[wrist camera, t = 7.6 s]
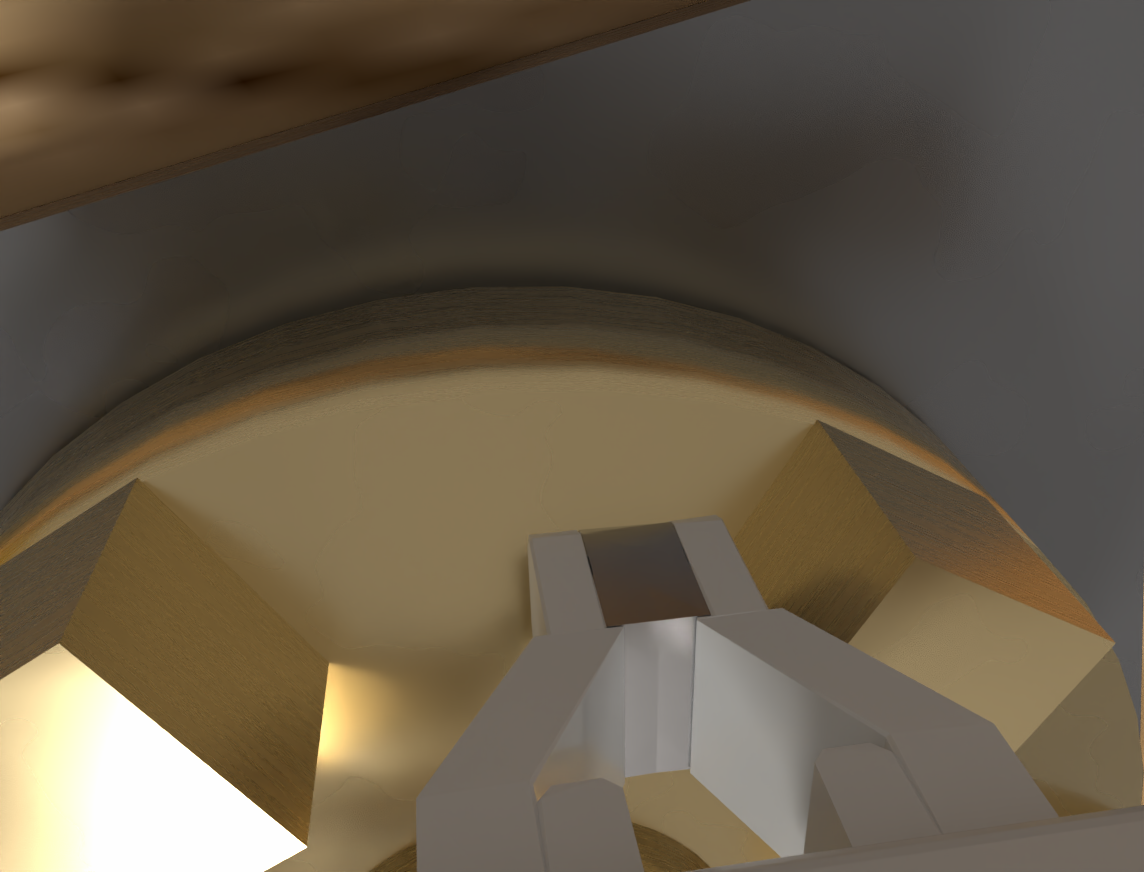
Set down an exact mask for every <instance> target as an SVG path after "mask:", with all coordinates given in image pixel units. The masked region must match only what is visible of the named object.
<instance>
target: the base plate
mask: <svg viewBox="0 0 1144 872" xmlns="http://www.w3.org/2000/svg"><path fill="white" fill-rule="evenodd" d="M545 286H567V287H576V288H584V289H593V290H601V291H610V292H618V293H627V294H635V295H644V296H652V297H658V298H662V299H666V300H670V301H674V302H678V303H682V304H686V305H690V306H694V307H698V308H702V309H706V310H709V311H713V312H717V313H721V314H725V315H729V316H733V317H737V318H740V319H743V320H745V321H748V322H750V323H753V324H755V325H758V326H760V327H763V328H765V329H768V330H770V331H773V332H775V333H777V334H780V335H782V336H785V337H787V338H790V339H792V340H795V341H797V342H800V343H802V344H805V345H807V346H810V347H812V348H814V349H816V350H818V351H819V352H821V353H823V354H825V355H826V356H828V357H830V358H831V359H833V360H835V361H836V362H838V363H840V364H842V365H843V366H845V367H847V368H848V369H850V370H852V371H853V372H855V373H857V374H859V375H860V376H862V377H864V378H865V379H867V380H869V381H870V382H872V383H874V384H876V385H877V386H879V387H880V388H881V389H882V390H884V391H885V392H886V393H887V394H889V395H890V396H891V397H892V398H893V399H895V400H896V401H897V402H898V403H899V404H901V405H902V406H903V407H904V408H906V409H907V410H908V411H909V412H910V413H912V414H913V415H914V416H915V417H916V418H918V419H919V420H920V421H921V422H923V423H924V424H925V425H926V426H927V427H929V428H930V429H931V430H932V431H933V432H934V433H935V434H936V435H937V436H938V438H939V439H940V440H941V441H942V442H943V443H944V444H945V445H946V446H947V447H948V449H949V450H950V451H951V452H952V453H953V454H954V455H955V456H956V457H957V459H958V460H959V461H960V462H961V463H962V464H963V465H964V466H965V467H966V469H967V470H968V471H969V472H970V473H971V474H972V475H973V476H974V477H975V478H976V480H977V481H978V482H979V483H980V484H981V485H982V486H983V487H984V488H985V490H986V491H987V492H988V493H989V494H990V495H991V496H992V497H993V498H994V499H995V501H996V502H997V503H998V504H999V505H1000V506H1001V507H1002V508H1003V509H1004V511H1005V512H1006V513H1007V514H1008V515H1009V516H1010V517H1011V518H1012V519H1013V521H1014V522H1015V523H1016V524H1017V525H1018V526H1019V527H1020V528H1021V529H1022V530H1023V532H1024V533H1025V534H1026V535H1027V536H1028V537H1029V538H1030V539H1031V540H1032V542H1033V543H1034V544H1035V545H1036V546H1037V547H1038V548H1039V549H1040V550H1041V552H1042V553H1043V554H1044V555H1045V556H1046V557H1047V558H1048V560H1049V561H1050V562H1051V563H1052V564H1053V565H1054V567H1055V568H1056V569H1057V570H1058V571H1059V572H1060V573H1061V575H1062V576H1063V577H1064V578H1065V579H1066V580H1067V582H1068V583H1069V584H1070V585H1071V586H1072V587H1073V589H1074V590H1075V591H1076V592H1077V593H1078V594H1079V595H1080V597H1081V598H1082V599H1083V600H1084V601H1085V602H1086V604H1087V605H1088V607H1089V608H1090V610H1091V612H1092V614H1093V615H1094V617H1095V619H1096V621H1097V622H1098V624H1099V625H1100V626H1101V627H1102V628H1103V629H1104V630H1105V631H1106V633H1107V634H1108V635H1109V636H1110V637H1111V638H1112V639H1113V640H1114V641H1115V643H1116V644H1115V645H1114V646H1113V647H1112V649H1113V651H1114V652H1115V654H1116V656H1117V658H1118V659H1119V662H1120V665H1121V668H1122V671H1123V674H1124V677H1125V680H1126V683H1127V686H1128V690H1129V693H1130V696H1131V699H1132V702H1133V705H1134V708H1135V711H1136V714H1137V718H1138V727H1139V736H1140V720H1141V674H1142V629H1143V583H1144V0H708V1H705V2H702V3H699V4H695V5H692V6H689V7H686V8H682V9H679V10H676V11H673V12H669V13H666V14H663V15H660V16H656V17H653V18H650V19H647V20H643V21H640V22H637V23H634V24H630V25H627V26H624V27H621V28H617V29H614V30H611V31H608V32H604V33H601V34H598V35H595V36H591V37H588V38H585V39H582V40H579V41H575V42H572V43H569V44H566V45H562V46H559V47H556V48H553V49H549V50H546V51H543V52H540V53H536V54H533V55H530V56H527V57H523V58H520V59H517V60H514V61H510V62H507V63H504V64H501V65H497V66H494V67H491V68H488V69H484V70H481V71H478V72H475V73H471V74H468V75H465V76H462V77H458V78H455V79H452V80H449V81H445V82H442V83H439V84H436V85H432V86H429V87H426V88H423V89H419V90H416V91H413V92H410V93H406V94H403V95H400V96H397V97H393V98H390V99H387V100H384V101H380V102H377V103H374V104H371V105H367V106H364V107H361V108H358V109H354V110H351V111H348V112H345V113H341V114H338V115H335V116H332V117H328V118H325V119H322V120H319V121H315V122H312V123H309V124H306V125H302V126H299V127H296V128H293V129H289V130H286V131H283V132H280V133H277V134H273V135H270V136H267V137H264V138H260V139H257V140H254V141H251V142H247V143H244V144H241V145H238V146H234V147H231V148H228V149H225V150H221V151H218V152H215V153H212V154H208V155H205V156H202V157H199V158H195V159H192V160H189V161H186V162H182V163H179V164H176V165H173V166H169V167H166V168H163V169H160V170H156V171H153V172H150V173H147V174H143V175H140V176H137V177H134V178H130V179H127V180H124V181H121V182H117V183H114V184H111V185H108V186H104V187H101V188H98V189H95V190H91V191H88V192H85V193H82V194H78V195H75V196H72V197H69V198H65V199H62V200H59V201H56V202H52V203H49V204H46V205H43V206H39V207H36V208H33V209H30V210H26V211H23V212H20V213H17V214H13V215H10V216H7V217H4V218H0V511H1V510H2V509H3V508H4V507H5V506H6V505H7V504H8V503H9V502H10V501H11V499H12V498H13V497H14V496H15V495H16V494H17V493H18V492H19V491H20V490H21V489H22V488H23V487H24V486H25V485H26V484H27V483H28V482H29V481H30V479H31V478H32V477H33V476H34V475H35V474H36V473H37V472H38V471H39V470H40V469H41V468H42V467H43V466H44V465H45V464H46V463H47V462H48V461H49V459H50V458H51V457H52V456H53V455H54V454H55V453H57V452H58V451H59V450H61V449H62V448H63V447H64V446H66V445H67V444H68V443H70V442H71V441H72V440H74V439H75V438H76V437H77V436H79V435H80V434H81V433H83V432H84V431H85V430H86V429H88V428H89V427H90V426H92V425H93V424H94V423H95V422H97V421H98V420H99V419H101V418H102V417H103V416H105V415H106V414H107V413H108V412H110V411H111V410H112V409H114V408H115V407H116V406H117V405H119V404H120V403H121V402H123V401H125V400H127V399H128V398H130V397H132V396H134V395H136V394H137V393H139V392H141V391H143V390H144V389H146V388H148V387H150V386H151V385H153V384H155V383H157V382H158V381H160V380H162V379H164V378H165V377H167V376H169V375H171V374H172V373H174V372H176V371H178V370H180V369H181V368H183V367H185V366H187V365H188V364H190V363H192V362H194V361H195V360H197V359H199V358H201V357H204V356H206V355H209V354H211V353H214V352H216V351H219V350H221V349H224V348H226V347H229V346H231V345H234V344H236V343H239V342H241V341H244V340H246V339H249V338H251V337H254V336H256V335H258V334H261V333H263V332H266V331H268V330H271V329H273V328H276V327H278V326H281V325H283V324H286V323H290V322H294V321H298V320H301V319H305V318H309V317H313V316H317V315H321V314H324V313H328V312H332V311H336V310H340V309H343V308H347V307H351V306H355V305H359V304H363V303H366V302H370V301H374V300H379V299H386V298H394V297H401V296H409V295H416V294H424V293H431V292H439V291H446V290H454V289H461V288H469V287H545Z"/></svg>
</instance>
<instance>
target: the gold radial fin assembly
mask: <svg viewBox="0 0 1144 872" xmlns="http://www.w3.org/2000/svg"><path fill="white" fill-rule="evenodd" d="M710 515H717V516H718V517H720V518H722V519H723V521H724V523H725V525H726V527H727V529H728V531H729V533H730V535H731V537H732V539H733V541H734V543H735V545H736V547H737V549H738V551H739V553H740V555H741V556H742V558H743V560H744V562H745V564H746V566H747V568H748V570H749V572H750V574H751V576H752V578H753V580H754V582H755V584H756V586H757V588H758V590H759V592H760V594H761V595H762V597H763V599H764V601H765V603H766V605H767V607H768V609H778V608H783V609H785V610H787V611H789V612H791V613H793V614H794V615H796V616H798V617H800V618H802V619H804V620H805V621H807V622H809V623H811V624H813V625H815V626H816V627H818V628H820V629H822V630H824V631H826V632H827V633H829V634H831V635H833V636H835V637H837V638H838V639H840V640H842V641H844V642H846V643H848V644H849V645H851V646H853V647H855V648H857V649H859V650H860V651H862V652H864V653H866V654H868V655H869V656H871V657H873V658H875V659H877V660H879V661H880V662H882V663H884V664H886V665H888V666H890V667H891V668H893V669H895V670H897V671H899V672H901V673H902V674H904V675H906V676H908V677H910V678H912V679H913V680H915V681H917V682H919V683H921V684H923V685H924V686H926V687H928V688H930V689H932V690H933V691H935V692H937V693H939V694H941V695H943V696H944V697H946V698H948V699H950V700H952V701H954V702H955V703H957V704H959V705H961V706H963V707H965V708H966V709H968V710H970V711H972V712H974V713H976V714H977V715H979V716H981V717H983V718H985V719H987V720H988V721H990V722H992V723H994V724H995V726H996V727H997V729H998V730H999V731H1000V733H1001V734H1002V736H1003V737H1004V739H1005V740H1006V741H1007V743H1008V744H1009V746H1010V747H1011V749H1012V750H1013V751H1014V753H1015V754H1016V756H1017V757H1018V759H1019V760H1020V762H1021V763H1022V764H1023V766H1024V767H1025V769H1026V770H1027V772H1028V773H1029V774H1030V776H1031V777H1032V779H1033V780H1034V782H1035V783H1036V784H1037V786H1038V787H1039V789H1040V790H1041V792H1042V793H1043V794H1044V796H1045V797H1046V799H1047V800H1048V802H1049V803H1050V804H1051V806H1052V807H1053V809H1054V810H1055V812H1056V813H1057V814H1058V816H1059V817H1064V816H1071V815H1078V814H1085V813H1092V812H1099V811H1106V810H1113V809H1120V808H1127V807H1134V806H1141V799H1142V787H1143V775H1144V772H1143V763H1142V754H1141V745H1140V736H1139V727H1138V718H1137V714H1136V711H1135V708H1134V705H1133V702H1132V699H1131V696H1130V693H1129V690H1128V686H1127V683H1126V680H1125V677H1124V674H1123V671H1122V668H1121V665H1120V662H1119V659H1118V658H1117V656H1116V654H1115V652H1114V651H1113V649H1112V647H1113V646H1114V645H1115V644H1116V643H1115V641H1114V640H1113V639H1112V638H1111V637H1110V636H1109V635H1108V634H1107V633H1106V631H1105V630H1104V629H1103V628H1102V627H1101V626H1100V625H1099V624H1098V622H1097V621H1096V619H1095V617H1094V615H1093V614H1092V612H1091V610H1090V608H1089V607H1088V605H1087V604H1086V602H1085V601H1084V600H1083V599H1082V598H1081V597H1080V595H1079V594H1078V593H1077V592H1076V591H1075V590H1074V589H1073V587H1072V586H1071V585H1070V584H1069V583H1068V582H1067V580H1066V579H1065V578H1064V577H1063V576H1062V575H1061V573H1060V572H1059V571H1058V570H1057V569H1056V568H1055V567H1054V565H1053V564H1052V563H1051V562H1050V561H1049V560H1048V558H1047V557H1046V556H1045V555H1044V554H1043V553H1042V552H1041V550H1040V549H1039V548H1038V547H1037V546H1036V545H1035V544H1034V543H1033V542H1032V540H1031V539H1030V538H1029V537H1028V536H1027V535H1026V534H1025V533H1024V532H1023V530H1022V529H1021V528H1020V527H1019V526H1018V525H1017V524H1016V523H1015V522H1014V521H1013V519H1012V518H1011V517H1010V516H1009V515H1008V514H1007V513H1006V512H1005V511H1004V509H1003V508H1002V507H1001V506H1000V505H999V504H998V503H997V502H996V501H995V499H994V498H993V497H992V496H991V495H990V494H989V493H988V492H987V491H986V490H985V488H984V487H983V486H982V485H981V484H980V483H979V482H978V481H977V480H976V478H975V477H974V476H973V475H972V474H971V473H970V472H969V471H968V470H967V469H966V467H965V466H964V465H963V464H962V463H961V462H960V461H959V460H958V459H957V457H956V456H955V455H954V454H953V453H952V452H951V451H950V450H949V449H948V447H947V446H946V445H945V444H944V443H943V442H942V441H941V440H940V439H939V438H938V436H937V435H936V434H935V433H934V432H933V431H932V430H931V429H930V428H929V427H927V426H926V425H925V424H924V423H923V422H921V421H920V420H919V419H918V418H916V417H915V416H914V415H913V414H912V413H910V412H909V411H908V410H907V409H906V408H904V407H903V406H902V405H901V404H899V403H898V402H897V401H896V400H895V399H893V398H892V397H891V396H890V395H889V394H887V393H886V392H885V391H884V390H882V389H881V388H880V387H879V386H877V385H876V384H874V383H872V382H870V381H869V380H867V379H865V378H864V377H862V376H860V375H859V374H857V373H855V372H853V371H852V370H850V369H848V368H847V367H845V366H843V365H842V364H840V363H838V362H836V361H835V360H833V359H831V358H830V357H828V356H826V355H825V354H823V353H821V352H819V351H818V350H816V349H814V348H812V347H810V346H807V345H805V344H802V343H800V342H797V341H795V340H792V339H790V338H787V337H785V336H782V335H780V334H777V333H775V332H773V331H770V330H768V329H765V328H763V327H760V326H758V325H755V324H753V323H750V322H748V321H745V320H743V319H740V318H737V317H733V316H729V315H725V314H721V313H717V312H713V311H709V310H706V309H702V308H698V307H694V306H690V305H686V304H682V303H678V302H674V301H670V300H666V299H662V298H658V297H652V296H644V295H635V294H627V293H618V292H610V291H601V290H593V289H584V288H576V287H567V286H545V287H469V288H461V289H454V290H446V291H439V292H431V293H424V294H416V295H409V296H401V297H394V298H386V299H379V300H374V301H370V302H366V303H363V304H359V305H355V306H351V307H347V308H343V309H340V310H336V311H332V312H328V313H324V314H321V315H317V316H313V317H309V318H305V319H301V320H298V321H294V322H290V323H286V324H283V325H281V326H278V327H276V328H273V329H271V330H268V331H266V332H263V333H261V334H258V335H256V336H254V337H251V338H249V339H246V340H244V341H241V342H239V343H236V344H234V345H231V346H229V347H226V348H224V349H221V350H219V351H216V352H214V353H211V354H209V355H206V356H204V357H201V358H199V359H197V360H195V361H194V362H192V363H190V364H188V365H187V366H185V367H183V368H181V369H180V370H178V371H176V372H174V373H172V374H171V375H169V376H167V377H165V378H164V379H162V380H160V381H158V382H157V383H155V384H153V385H151V386H150V387H148V388H146V389H144V390H143V391H141V392H139V393H137V394H136V395H134V396H132V397H130V398H128V399H127V400H125V401H123V402H121V403H120V404H119V405H117V406H116V407H115V408H114V409H112V410H111V411H110V412H108V413H107V414H106V415H105V416H103V417H102V418H101V419H99V420H98V421H97V422H95V423H94V424H93V425H92V426H90V427H89V428H88V429H86V430H85V431H84V432H83V433H81V434H80V435H79V436H77V437H76V438H75V439H74V440H72V441H71V442H70V443H68V444H67V445H66V446H64V447H63V448H62V449H61V450H59V451H58V452H57V453H55V454H54V455H53V456H52V457H51V458H50V459H49V461H48V462H47V463H46V464H45V465H44V466H43V467H42V468H41V469H40V470H39V471H38V472H37V473H36V474H35V475H34V476H33V477H32V478H31V479H30V481H29V482H28V483H27V484H26V485H25V486H24V487H23V488H22V489H21V490H20V491H19V492H18V493H17V494H16V495H15V496H14V497H13V498H12V499H11V501H10V502H9V503H8V504H7V505H6V506H5V507H4V508H3V509H2V510H1V511H0V872H417V841H416V798H417V796H418V795H419V794H420V792H421V791H422V790H423V788H424V787H425V785H426V784H427V783H428V781H429V780H430V779H431V777H432V776H433V774H434V773H435V772H436V770H437V769H438V767H439V766H440V765H441V763H442V762H443V761H444V759H445V758H446V756H447V755H448V754H449V752H450V751H451V750H452V748H453V747H454V745H455V744H456V743H457V741H458V740H459V738H460V737H461V736H462V734H463V733H464V732H465V730H466V729H467V727H468V726H469V725H470V723H471V722H472V721H473V719H474V718H475V716H476V715H477V714H478V712H479V711H480V709H481V708H482V707H483V705H484V704H485V703H486V701H487V700H488V698H489V697H490V696H491V694H492V693H493V692H494V690H495V689H496V687H497V686H498V685H499V683H500V682H501V680H502V679H503V678H504V676H505V675H506V674H507V672H508V671H509V669H510V668H511V667H512V665H513V664H514V663H515V661H516V660H517V658H518V657H519V656H520V654H521V653H522V651H523V650H524V649H525V647H526V646H527V645H528V643H529V642H530V640H531V639H532V638H533V636H532V622H531V604H530V585H529V566H528V536H529V535H533V534H542V533H552V532H561V531H570V530H577V531H579V530H583V529H595V528H607V527H619V526H631V525H643V524H655V523H665V522H669V521H674V520H681V519H688V518H695V517H703V516H710ZM623 791H624V795H625V799H626V803H627V806H628V810H629V814H630V818H631V822H632V826H633V830H634V834H635V837H636V841H637V845H638V849H639V853H640V857H641V861H642V865H643V869H644V872H685V871H692V870H699V869H705V868H712V867H719V866H726V865H733V864H740V863H746V862H753V861H760V860H767V859H774V858H781V857H780V856H779V855H778V854H777V853H776V852H775V851H774V850H773V849H772V848H771V847H770V846H769V845H767V844H766V843H765V842H764V841H763V840H762V839H761V838H760V837H759V836H758V835H757V834H756V833H754V832H753V831H752V830H751V829H750V828H749V827H748V826H747V825H746V824H745V823H744V822H743V821H741V820H740V819H739V818H738V817H737V816H736V815H735V814H734V813H733V812H732V811H731V810H730V809H728V808H727V807H726V806H725V805H724V804H723V803H722V802H721V801H720V800H719V799H718V798H717V797H715V796H714V795H713V794H712V793H711V792H710V791H709V790H708V789H707V788H706V787H705V786H704V785H703V784H701V783H700V782H699V781H698V780H697V779H696V778H695V777H694V776H693V775H692V774H691V773H690V769H686V770H677V771H667V772H658V773H651V774H645V775H638V776H632V777H626V778H625V784H624V786H623Z"/></svg>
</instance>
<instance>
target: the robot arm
mask: <svg viewBox="0 0 1144 872" xmlns="http://www.w3.org/2000/svg"><path fill="white" fill-rule="evenodd" d="M528 566H529V585H530V604H531V622H532V636H533V638H532V639H531V640H530V642H529V643H528V645H527V646H526V647H525V649H524V650H523V651H522V653H521V654H520V656H519V657H518V658H517V660H516V661H515V663H514V664H513V665H512V667H511V668H510V669H509V671H508V672H507V674H506V675H505V676H504V678H503V679H502V680H501V682H500V683H499V685H498V686H497V687H496V689H495V690H494V692H493V693H492V694H491V696H490V697H489V698H488V700H487V701H486V703H485V704H484V705H483V707H482V708H481V709H480V711H479V712H478V714H477V715H476V716H475V718H474V719H473V721H472V722H471V723H470V725H469V726H468V727H467V729H466V730H465V732H464V733H463V734H462V736H461V737H460V738H459V740H458V741H457V743H456V744H455V745H454V747H453V748H452V750H451V751H450V752H449V754H448V755H447V756H446V758H445V759H444V761H443V762H442V763H441V765H440V766H439V767H438V769H437V770H436V772H435V773H434V774H433V776H432V777H431V779H430V780H429V781H428V783H427V784H426V785H425V787H424V788H423V790H422V791H421V792H420V794H419V795H418V796H417V798H416V841H417V872H644V869H643V865H642V861H641V857H640V853H639V849H638V845H637V841H636V837H635V834H634V830H633V826H632V822H631V818H630V814H629V810H628V806H627V803H626V799H625V795H624V791H623V786H624V784H625V778H626V777H632V776H638V775H645V774H651V773H658V772H667V771H677V770H686V769H690V773H691V774H692V775H693V776H694V777H695V778H696V779H697V780H698V781H699V782H700V783H701V784H703V785H704V786H705V787H706V788H707V789H708V790H709V791H710V792H711V793H712V794H713V795H714V796H715V797H717V798H718V799H719V800H720V801H721V802H722V803H723V804H724V805H725V806H726V807H727V808H728V809H730V810H731V811H732V812H733V813H734V814H735V815H736V816H737V817H738V818H739V819H740V820H741V821H743V822H744V823H745V824H746V825H747V826H748V827H749V828H750V829H751V830H752V831H753V832H754V833H756V834H757V835H758V836H759V837H760V838H761V839H762V840H763V841H764V842H765V843H766V844H767V845H769V846H770V847H771V848H772V849H773V850H774V851H775V852H776V853H777V854H778V855H779V856H780V857H781V858H774V859H767V860H760V861H753V862H746V863H740V864H733V865H726V866H719V867H712V868H705V869H699V870H692V871H685V872H1144V805H1141V806H1134V807H1127V808H1120V809H1113V810H1106V811H1099V812H1092V813H1085V814H1078V815H1071V816H1064V817H1059V816H1058V814H1057V813H1056V812H1055V810H1054V809H1053V807H1052V806H1051V804H1050V803H1049V802H1048V800H1047V799H1046V797H1045V796H1044V794H1043V793H1042V792H1041V790H1040V789H1039V787H1038V786H1037V784H1036V783H1035V782H1034V780H1033V779H1032V777H1031V776H1030V774H1029V773H1028V772H1027V770H1026V769H1025V767H1024V766H1023V764H1022V763H1021V762H1020V760H1019V759H1018V757H1017V756H1016V754H1015V753H1014V751H1013V750H1012V749H1011V747H1010V746H1009V744H1008V743H1007V741H1006V740H1005V739H1004V737H1003V736H1002V734H1001V733H1000V731H999V730H998V729H997V727H996V726H995V724H994V723H992V722H990V721H988V720H987V719H985V718H983V717H981V716H979V715H977V714H976V713H974V712H972V711H970V710H968V709H966V708H965V707H963V706H961V705H959V704H957V703H955V702H954V701H952V700H950V699H948V698H946V697H944V696H943V695H941V694H939V693H937V692H935V691H933V690H932V689H930V688H928V687H926V686H924V685H923V684H921V683H919V682H917V681H915V680H913V679H912V678H910V677H908V676H906V675H904V674H902V673H901V672H899V671H897V670H895V669H893V668H891V667H890V666H888V665H886V664H884V663H882V662H880V661H879V660H877V659H875V658H873V657H871V656H869V655H868V654H866V653H864V652H862V651H860V650H859V649H857V648H855V647H853V646H851V645H849V644H848V643H846V642H844V641H842V640H840V639H838V638H837V637H835V636H833V635H831V634H829V633H827V632H826V631H824V630H822V629H820V628H818V627H816V626H815V625H813V624H811V623H809V622H807V621H805V620H804V619H802V618H800V617H798V616H796V615H794V614H793V613H791V612H789V611H787V610H785V609H783V608H778V609H768V607H767V605H766V603H765V601H764V599H763V597H762V595H761V594H760V592H759V590H758V588H757V586H756V584H755V582H754V580H753V578H752V576H751V574H750V572H749V570H748V568H747V566H746V564H745V562H744V560H743V558H742V556H741V555H740V553H739V551H738V549H737V547H736V545H735V543H734V541H733V539H732V537H731V535H730V533H729V531H728V529H727V527H726V525H725V523H724V521H723V519H722V518H720V517H718V516H717V515H710V516H703V517H695V518H688V519H681V520H674V521H669V522H665V523H655V524H643V525H631V526H619V527H607V528H595V529H583V530H579V531H577V530H570V531H561V532H552V533H542V534H533V535H529V536H528Z"/></svg>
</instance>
